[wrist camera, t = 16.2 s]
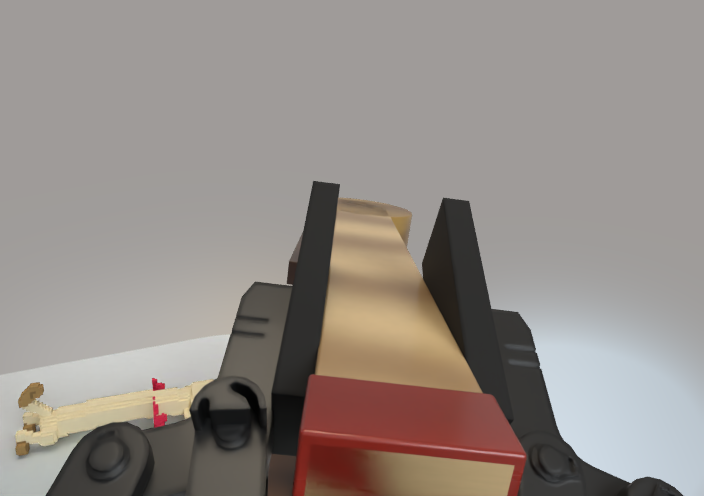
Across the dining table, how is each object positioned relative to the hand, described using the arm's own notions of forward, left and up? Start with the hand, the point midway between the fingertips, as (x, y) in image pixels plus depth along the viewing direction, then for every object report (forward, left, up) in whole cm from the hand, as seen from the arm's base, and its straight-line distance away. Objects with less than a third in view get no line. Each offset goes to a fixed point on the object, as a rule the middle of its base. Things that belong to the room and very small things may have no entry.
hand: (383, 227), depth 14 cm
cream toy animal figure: (-45, +11, -38) cm, 60 cm away
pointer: (-3, +3, -4) cm, 5 cm away
